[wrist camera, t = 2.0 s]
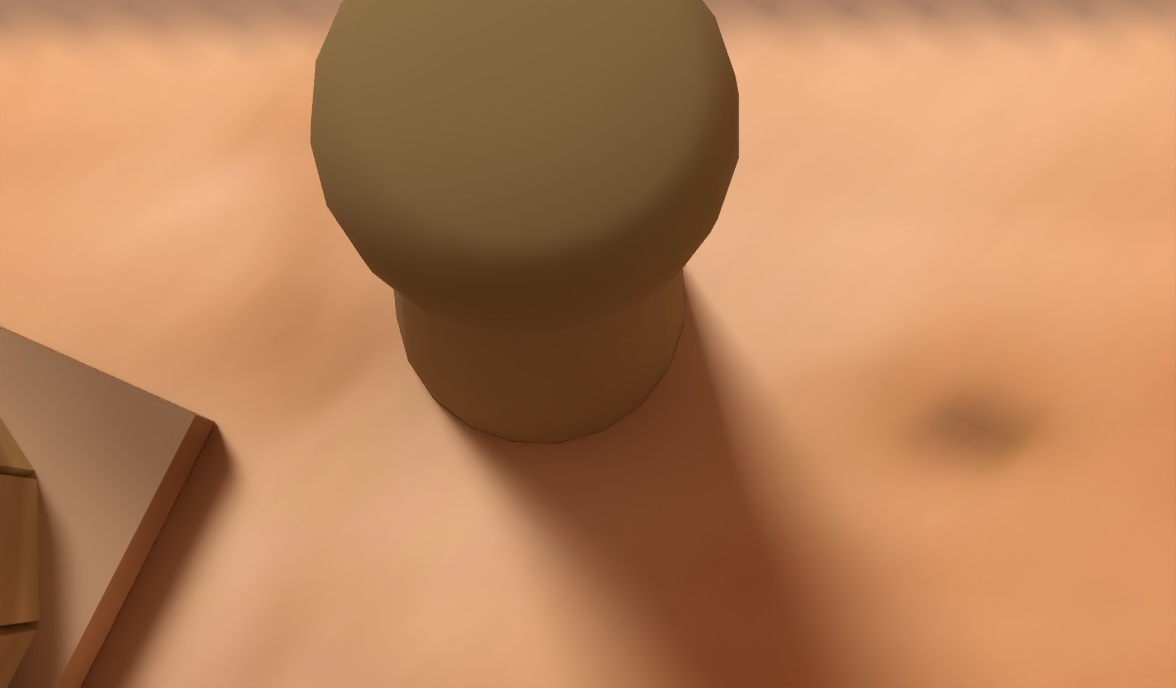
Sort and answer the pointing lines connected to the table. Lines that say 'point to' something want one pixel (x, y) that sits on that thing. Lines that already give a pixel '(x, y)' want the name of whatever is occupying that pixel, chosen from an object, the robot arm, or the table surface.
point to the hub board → (77, 504)
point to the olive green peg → (529, 191)
